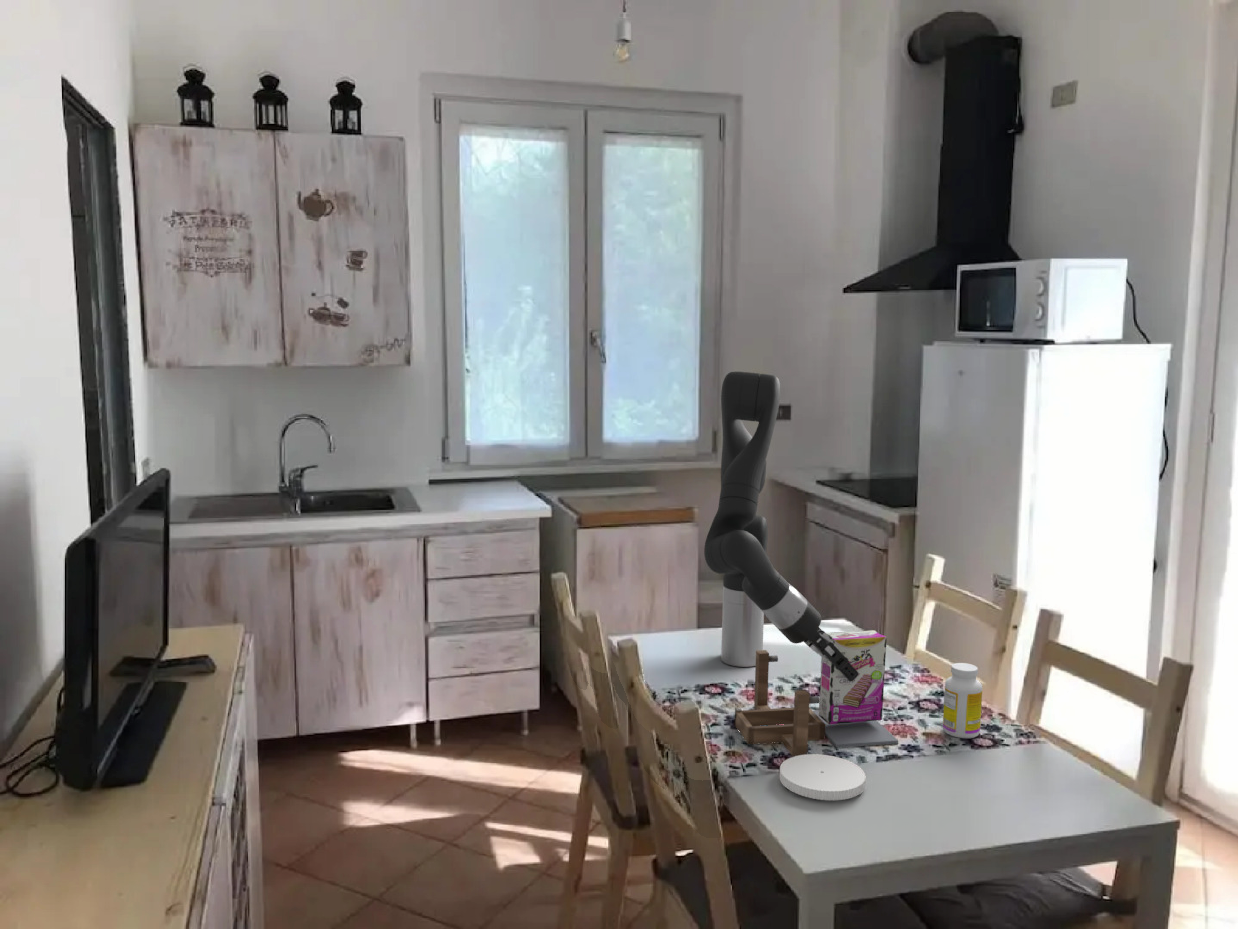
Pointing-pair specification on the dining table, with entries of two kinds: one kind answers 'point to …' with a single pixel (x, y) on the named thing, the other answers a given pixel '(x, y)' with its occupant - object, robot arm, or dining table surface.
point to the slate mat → (857, 734)
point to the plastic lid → (822, 777)
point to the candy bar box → (866, 690)
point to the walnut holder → (779, 715)
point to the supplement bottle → (962, 702)
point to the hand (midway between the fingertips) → (848, 672)
